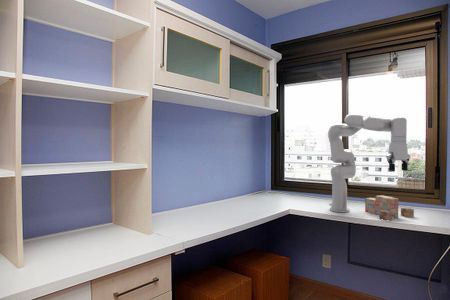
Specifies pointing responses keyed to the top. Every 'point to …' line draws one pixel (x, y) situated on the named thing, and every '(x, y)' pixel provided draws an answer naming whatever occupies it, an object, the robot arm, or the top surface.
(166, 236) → the top surface
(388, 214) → the marked walnut cube
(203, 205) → the top surface
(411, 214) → the marked walnut cube
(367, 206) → the stack of blocks
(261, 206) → the top surface
